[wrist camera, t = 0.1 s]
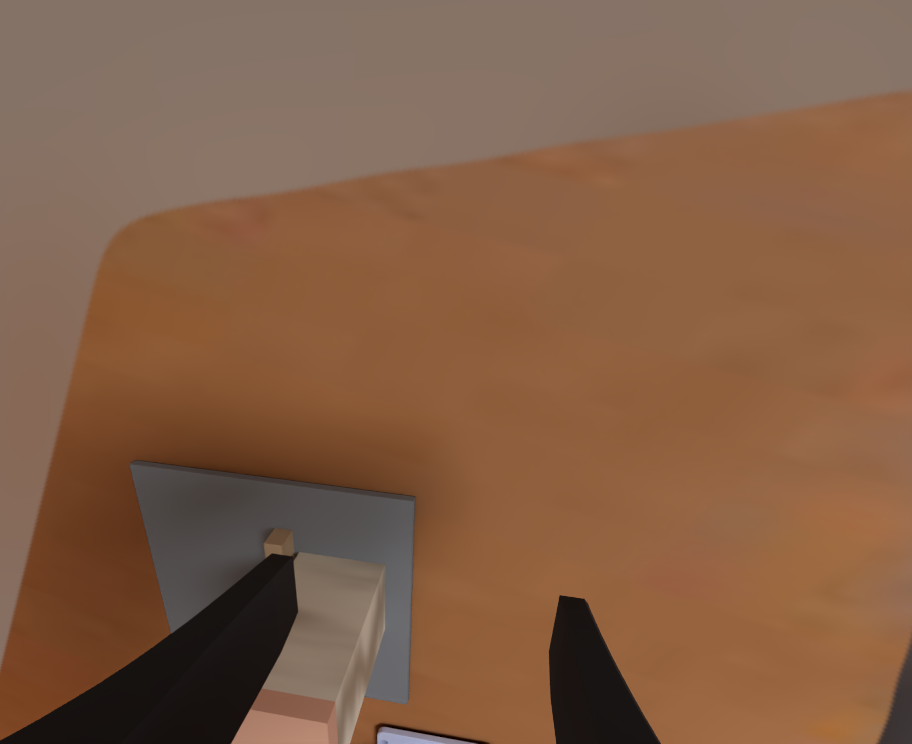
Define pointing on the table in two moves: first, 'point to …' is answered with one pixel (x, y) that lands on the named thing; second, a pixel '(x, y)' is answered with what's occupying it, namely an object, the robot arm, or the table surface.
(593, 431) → the table surface
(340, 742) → the birch block
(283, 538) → the stop strip
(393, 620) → the rubber mat
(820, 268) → the table surface
